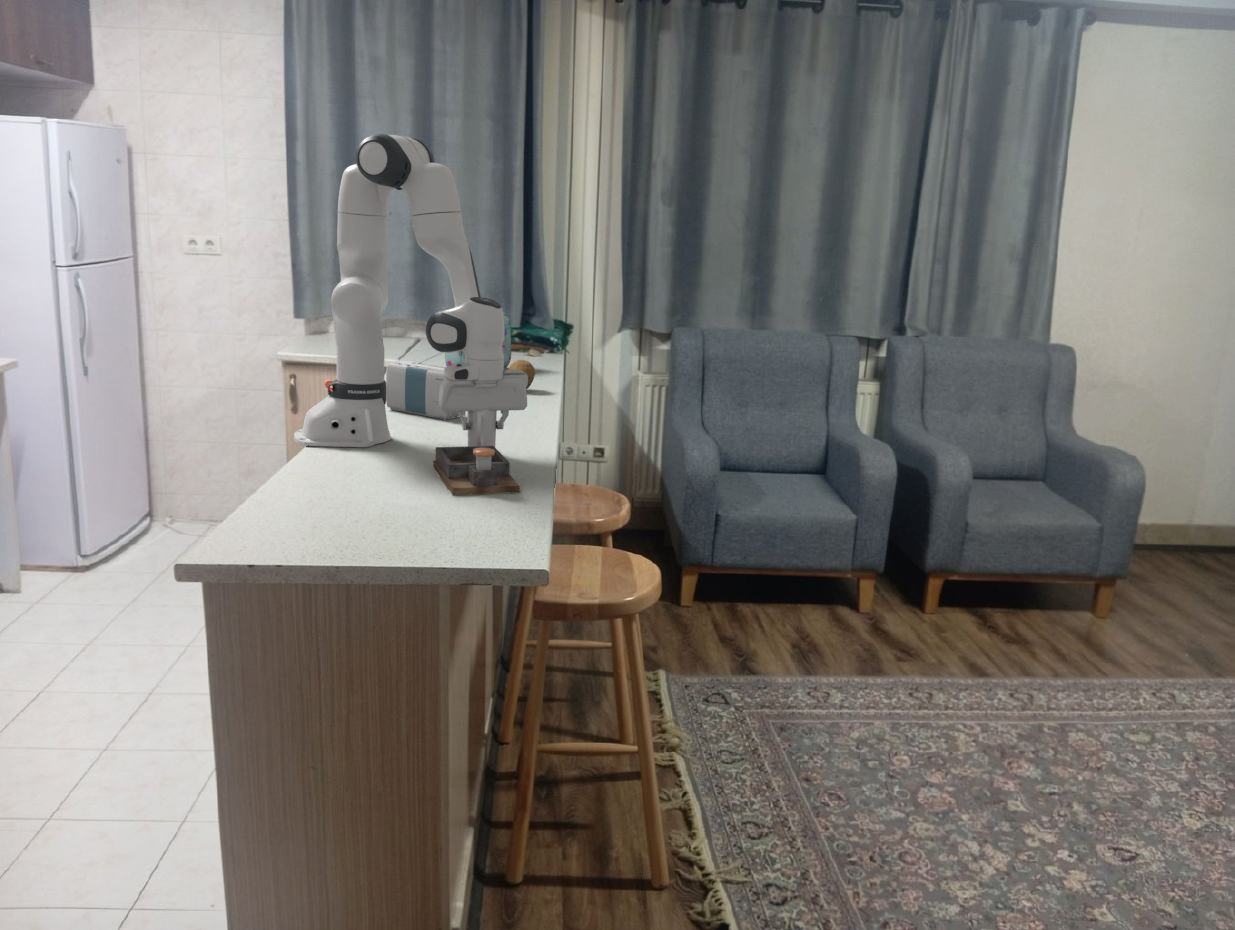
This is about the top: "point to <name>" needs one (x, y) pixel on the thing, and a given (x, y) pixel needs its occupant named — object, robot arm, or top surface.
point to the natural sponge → (524, 369)
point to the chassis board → (473, 472)
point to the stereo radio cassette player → (416, 388)
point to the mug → (482, 428)
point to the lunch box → (506, 347)
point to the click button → (483, 458)
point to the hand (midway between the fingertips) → (482, 429)
